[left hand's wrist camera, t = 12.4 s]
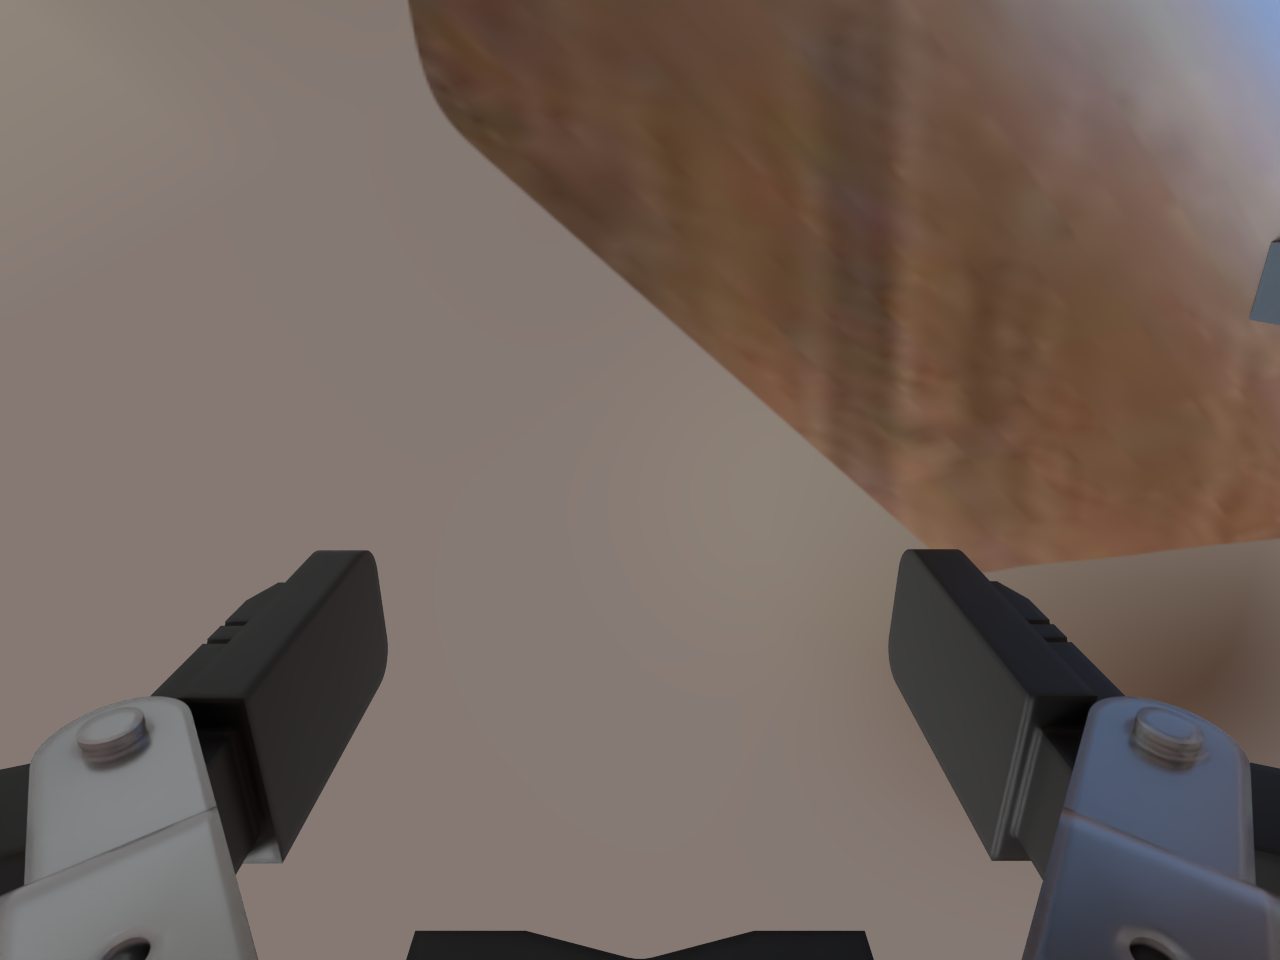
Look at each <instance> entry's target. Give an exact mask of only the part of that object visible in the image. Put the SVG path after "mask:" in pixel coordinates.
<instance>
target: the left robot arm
mask: <svg viewBox="0 0 1280 960" xmlns="http://www.w3.org/2000/svg"><path fill="white" fill-rule="evenodd" d="M888 648H889V661H890V667H891V671H892V675H893V678H894V680H895V682H896V684H897V686H898V688H899V690H900V692H901V693H902V695H903V697H904V699H905V701H906V703H907V704H908V706H909V708H910V710H911V712H912V714H913V716H914V717H915V719H916V721H917V723H918V725H919V727H920V729H921V730H922V732H923V734H924V736H925V738H926V740H927V741H928V743H929V745H930V747H931V749H932V751H933V753H934V754H935V756H936V758H937V760H938V762H939V764H940V766H941V767H942V769H943V771H944V773H945V775H946V777H947V779H948V780H949V782H950V784H951V786H952V788H953V790H954V791H955V793H956V795H957V797H958V799H959V801H960V803H961V804H962V806H963V808H964V810H965V812H966V814H967V816H968V817H969V819H970V821H971V823H972V825H973V827H974V829H975V830H976V832H977V834H978V836H979V838H980V840H981V841H982V843H983V845H984V847H985V849H986V851H987V853H988V854H989V856H990V858H991V860H992V861H1032V863H1033V864H1034V866H1035V868H1036V869H1037V871H1038V873H1039V874H1040V876H1041V878H1042V879H1043V883H1042V887H1041V890H1040V894H1039V898H1038V901H1037V905H1036V909H1035V912H1034V916H1033V920H1032V924H1031V928H1030V931H1029V935H1028V938H1027V942H1026V946H1025V950H1024V953H1023V957H1022V960H1280V769H1279V768H1274V767H1269V766H1264V765H1259V764H1254V763H1249V760H1248V758H1247V756H1246V754H1245V753H1244V751H1243V750H1242V749H1241V748H1240V746H1239V745H1238V744H1237V743H1236V742H1235V741H1234V740H1233V739H1232V738H1231V737H1230V736H1228V735H1227V734H1226V733H1224V732H1223V731H1222V730H1220V729H1219V728H1218V727H1216V726H1214V725H1213V724H1211V723H1210V722H1208V721H1206V720H1204V719H1202V718H1200V717H1199V716H1197V715H1195V714H1192V713H1190V712H1188V711H1186V710H1183V709H1181V708H1178V707H1175V706H1172V705H1170V704H1166V703H1163V702H1159V701H1155V700H1151V699H1146V698H1139V697H1127V696H1125V695H1124V694H1123V693H1122V692H1121V691H1120V690H1119V689H1118V688H1117V687H1116V686H1115V685H1114V684H1113V683H1112V682H1111V681H1110V680H1109V679H1108V678H1107V677H1106V676H1105V675H1104V674H1103V673H1102V672H1101V671H1100V670H1099V669H1098V668H1097V667H1096V666H1095V665H1094V664H1093V663H1092V662H1091V661H1090V660H1089V659H1088V658H1087V657H1086V656H1085V655H1084V654H1083V653H1082V652H1081V651H1080V650H1079V649H1078V648H1077V647H1076V646H1075V645H1074V644H1073V643H1072V642H1067V637H1066V636H1065V635H1064V634H1063V633H1062V632H1061V631H1060V630H1059V629H1058V628H1057V627H1056V626H1055V625H1054V624H1050V623H1049V619H1048V618H1047V617H1046V616H1045V615H1044V614H1043V613H1042V612H1041V611H1040V610H1039V609H1038V608H1037V607H1036V606H1035V605H1034V604H1033V603H1032V602H1031V601H1030V600H1029V599H1027V598H1026V597H1024V596H1022V595H1020V594H1019V593H1017V592H1015V591H1013V590H1011V589H1010V588H1008V587H1006V586H1004V585H1002V584H1001V583H999V582H997V581H989V580H988V579H987V578H986V577H985V576H984V574H983V573H982V572H981V571H980V570H979V569H978V568H977V567H976V566H975V565H974V564H973V563H972V562H971V561H970V560H969V559H968V557H967V556H966V555H965V554H964V553H963V552H962V551H960V550H958V549H908V550H906V551H905V552H904V554H903V555H902V558H901V561H900V565H899V571H898V578H897V585H896V592H895V599H894V606H893V613H892V620H891V627H890V634H889V646H888ZM387 655H388V642H387V634H386V628H385V620H384V614H383V606H382V600H381V593H380V586H379V579H378V572H377V566H376V562H375V559H374V556H373V555H372V553H371V552H370V551H367V550H366V551H365V550H361V551H360V550H351V551H350V550H348V551H347V550H342V551H341V550H335V551H333V550H328V551H326V550H321V551H316V552H314V553H313V554H312V555H311V556H310V557H309V558H308V559H307V560H306V561H305V562H304V563H303V564H302V565H301V566H300V568H299V569H298V570H297V571H296V572H295V573H294V574H293V575H292V576H291V577H290V578H289V579H288V580H287V581H286V582H285V583H277V584H275V585H273V586H272V587H270V588H268V589H266V590H264V591H263V592H261V593H259V594H257V595H255V596H254V597H252V598H250V599H248V600H247V601H245V602H244V604H242V605H241V606H240V607H239V608H238V610H236V611H235V612H234V613H233V614H232V615H231V616H230V617H229V618H228V619H227V620H226V622H225V626H220V627H219V628H218V629H217V630H216V631H215V632H214V633H213V634H212V635H211V636H210V637H209V638H208V642H207V644H202V645H201V646H200V647H199V648H198V649H197V650H196V651H195V652H194V653H193V654H192V655H191V656H190V657H189V658H188V659H187V660H186V661H185V662H184V663H183V664H182V665H181V666H180V667H179V668H178V669H177V670H176V671H175V672H174V673H173V674H172V675H171V676H170V677H169V678H168V679H167V680H166V681H165V682H164V683H163V684H162V685H161V686H160V687H159V688H158V689H157V690H156V691H155V692H154V693H153V694H152V695H151V696H150V697H141V698H134V699H129V700H125V701H121V702H117V703H114V704H110V705H108V706H105V707H102V708H99V709H97V710H94V711H92V712H90V713H88V714H85V715H83V716H82V717H80V718H78V719H76V720H74V721H72V722H70V723H69V724H67V725H66V726H64V727H62V728H61V729H60V730H58V731H57V732H56V733H54V734H53V735H52V736H50V737H49V738H48V739H47V740H46V741H45V742H44V743H43V744H42V745H41V746H40V748H39V749H38V750H37V751H36V753H35V754H34V756H33V758H32V760H31V763H30V764H26V765H21V766H16V767H11V768H7V769H2V770H0V960H258V957H257V953H256V950H255V946H254V942H253V938H252V935H251V931H250V927H249V924H248V920H247V916H246V912H245V909H244V905H243V901H242V898H241V894H240V890H239V887H238V883H237V879H236V873H237V872H238V870H239V868H240V867H241V865H242V863H283V861H284V859H285V858H286V856H287V854H288V852H289V850H290V848H291V847H292V845H293V843H294V841H295V839H296V837H297V836H298V834H299V832H300V830H301V828H302V826H303V825H304V823H305V821H306V819H307V817H308V815H309V814H310V812H311V810H312V808H313V806H314V804H315V803H316V801H317V799H318V797H319V795H320V794H321V792H322V790H323V788H324V786H325V784H326V783H327V781H328V779H329V777H330V775H331V773H332V772H333V770H334V768H335V766H336V764H337V762H338V761H339V759H340V757H341V755H342V753H343V751H344V750H345V748H346V746H347V744H348V742H349V741H350V739H351V737H352V735H353V733H354V731H355V729H356V728H357V726H358V724H359V722H360V720H361V719H362V717H363V715H364V713H365V711H366V709H367V708H368V706H369V704H370V702H371V700H372V698H373V697H374V695H375V693H376V691H377V689H378V687H379V686H380V684H381V681H382V679H383V676H384V673H385V669H386V664H387ZM406 960H874V959H873V956H872V953H871V950H870V946H869V943H868V940H867V937H866V934H865V931H752V932H748V933H744V934H740V935H737V936H733V937H729V938H725V939H721V940H718V941H714V942H710V943H706V944H702V945H698V946H695V947H691V948H687V949H683V950H679V951H676V952H672V953H668V954H664V955H660V956H656V957H653V958H647V959H633V958H627V957H624V956H620V955H616V954H612V953H608V952H604V951H601V950H597V949H593V948H589V947H585V946H582V945H578V944H574V943H570V942H566V941H562V940H558V939H555V938H551V937H547V936H543V935H540V934H536V933H532V932H528V931H415V934H414V937H413V940H412V943H411V946H410V950H409V953H408V956H407V959H406Z"/></svg>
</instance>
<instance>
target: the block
mask: <svg viewBox="0 0 1280 960" xmlns="http://www.w3.org/2000/svg"><path fill="white" fill-rule="evenodd" d="M1249 319H1250V320H1254V321H1260V322H1265V323H1271V324H1276V325H1280V242H1272V243H1271V246H1270V249H1269V253H1268V256H1267V260H1266V263H1265V266H1264V270H1263V273H1262V277H1261V280H1260V284H1259V287H1258V290H1257V294H1256V297H1255V301H1254V304H1253V308H1252V311H1251V314H1250V318H1249Z"/></svg>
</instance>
